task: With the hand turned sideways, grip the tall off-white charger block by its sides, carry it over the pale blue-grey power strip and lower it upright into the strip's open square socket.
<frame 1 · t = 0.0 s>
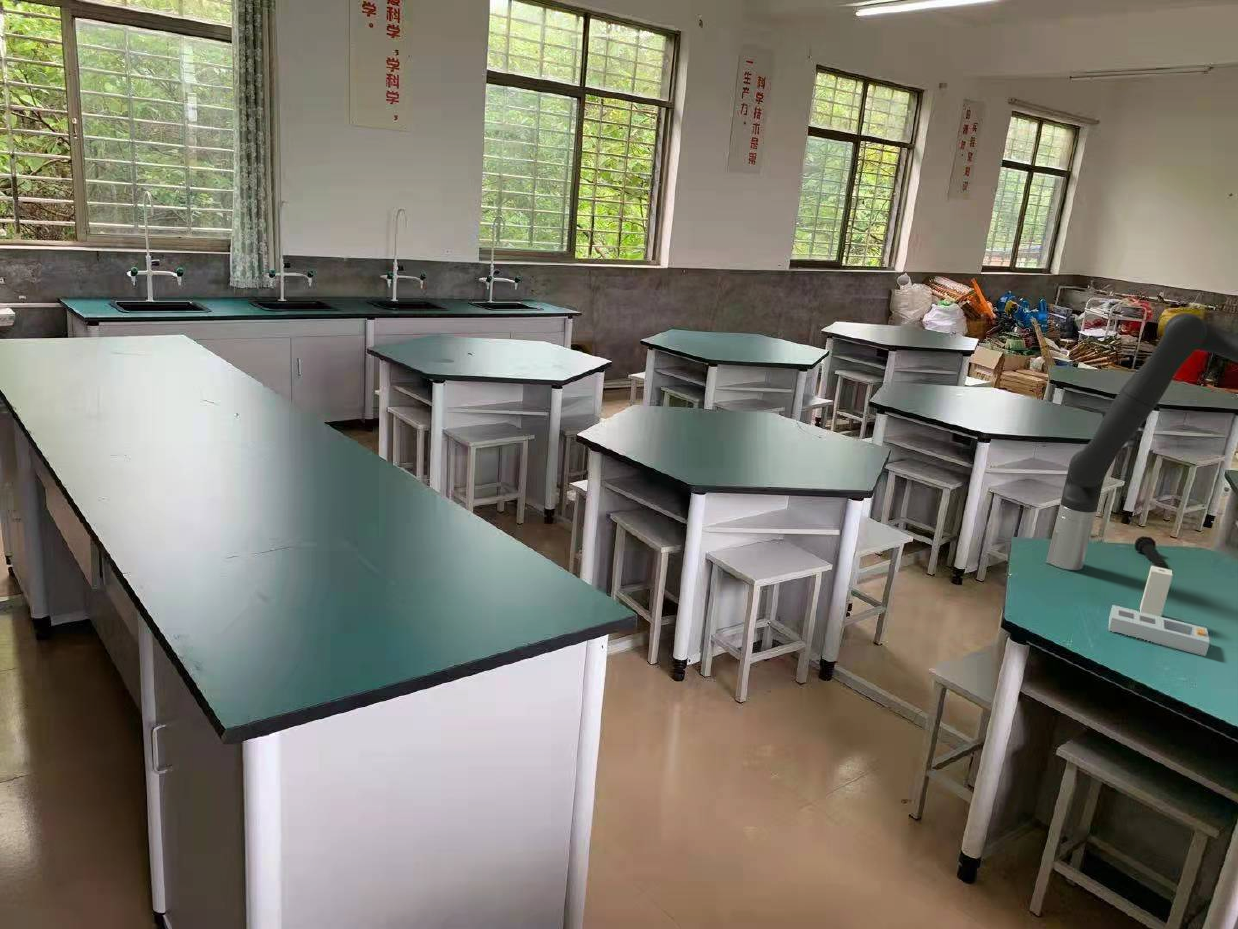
power strip: (1155, 636, 216), on the table
microphone: (1150, 562, 268), on the table
charger: (1149, 614, 229), on the table
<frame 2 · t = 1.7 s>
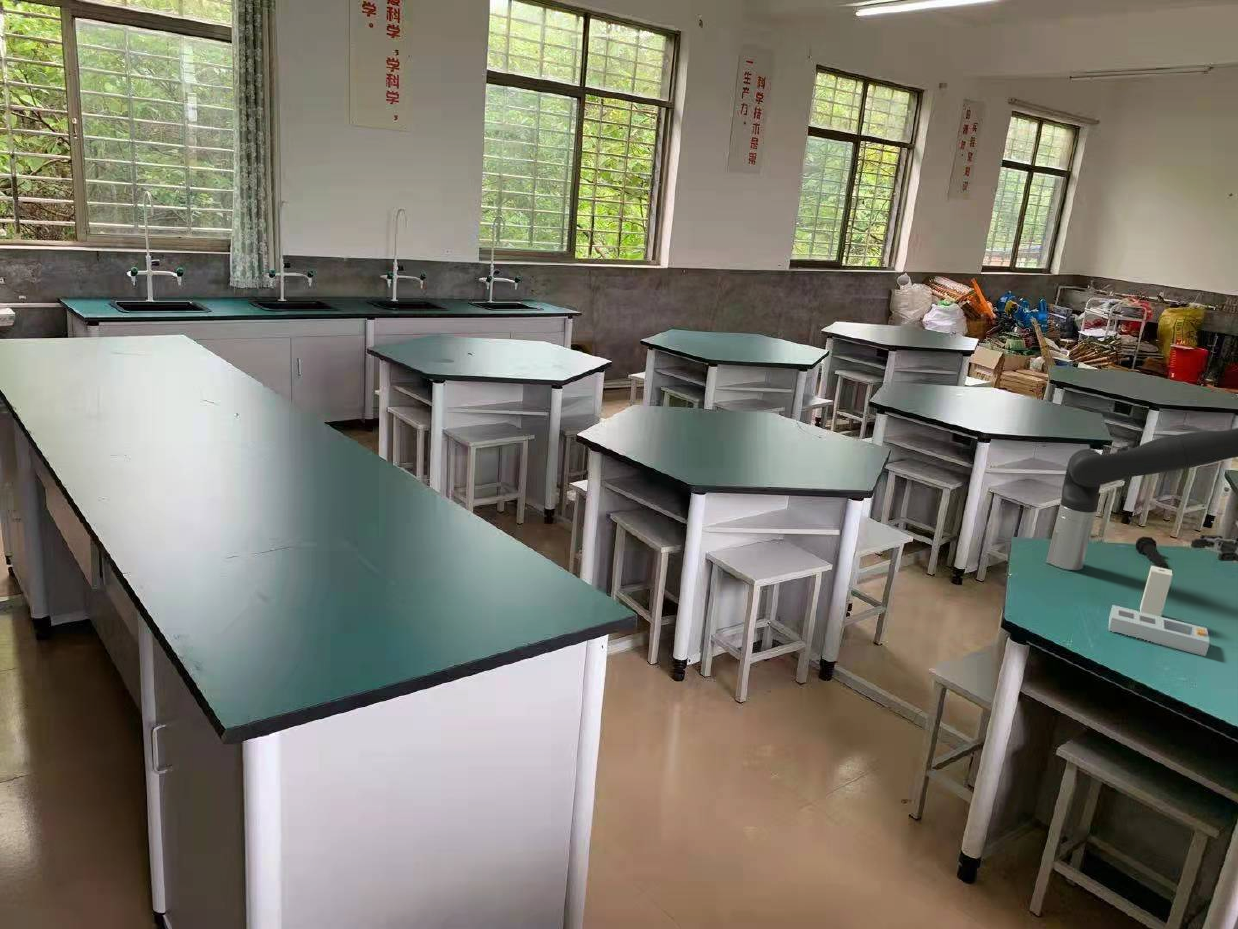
hand: (1206, 549, 226), 18 cm above the table, tool horizontal, fingers open, 8 cm apart
nothing on the table moved.
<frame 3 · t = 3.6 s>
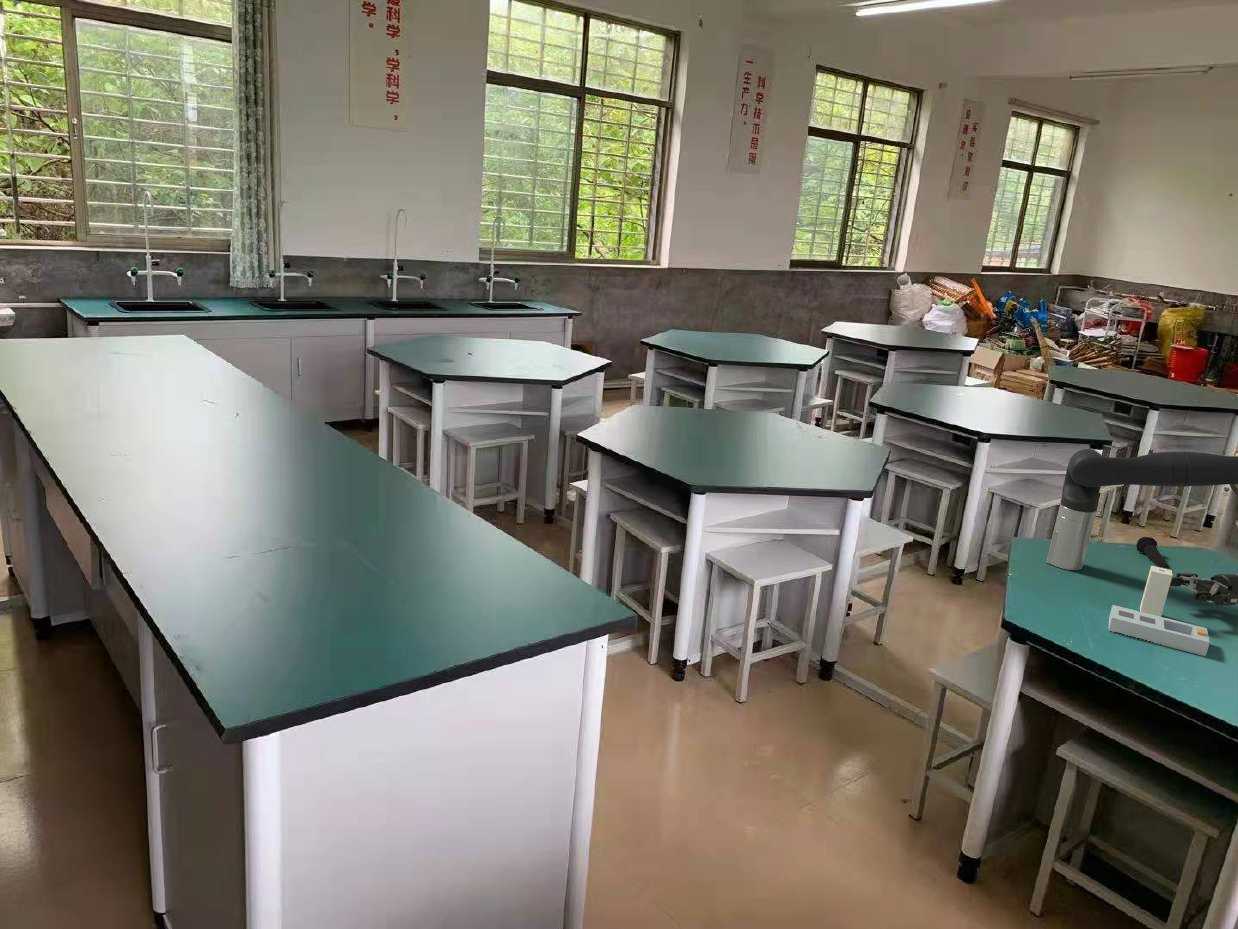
hand: (1181, 588, 228), 7 cm above the table, tool horizontal, fingers open, 8 cm apart
nothing on the table moved.
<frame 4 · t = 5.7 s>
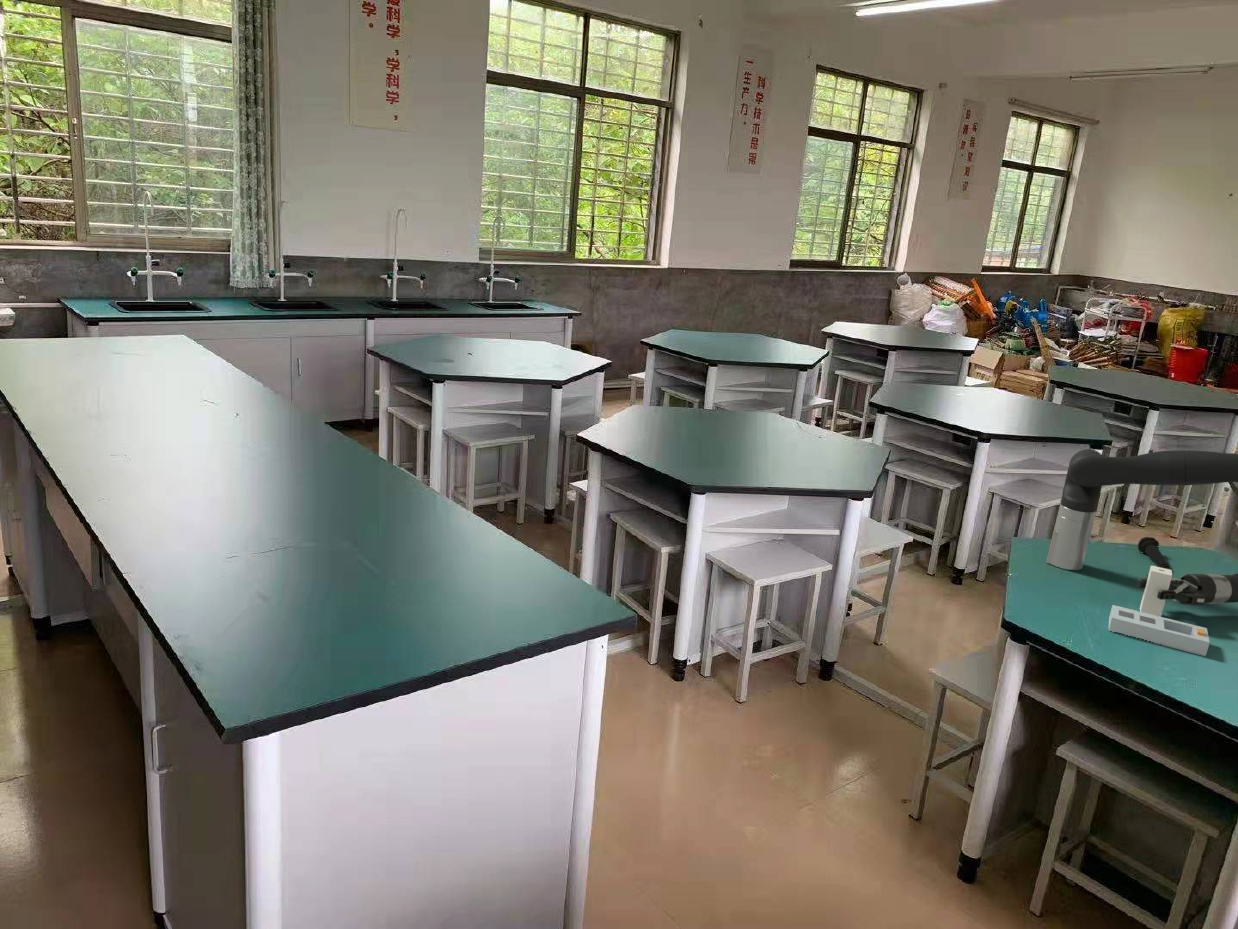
hand: (1148, 589, 226), 7 cm above the table, tool horizontal, fingers closed on charger, 6 cm apart
charger: (1149, 614, 229), on the table, touching gripper
everything else where it was.
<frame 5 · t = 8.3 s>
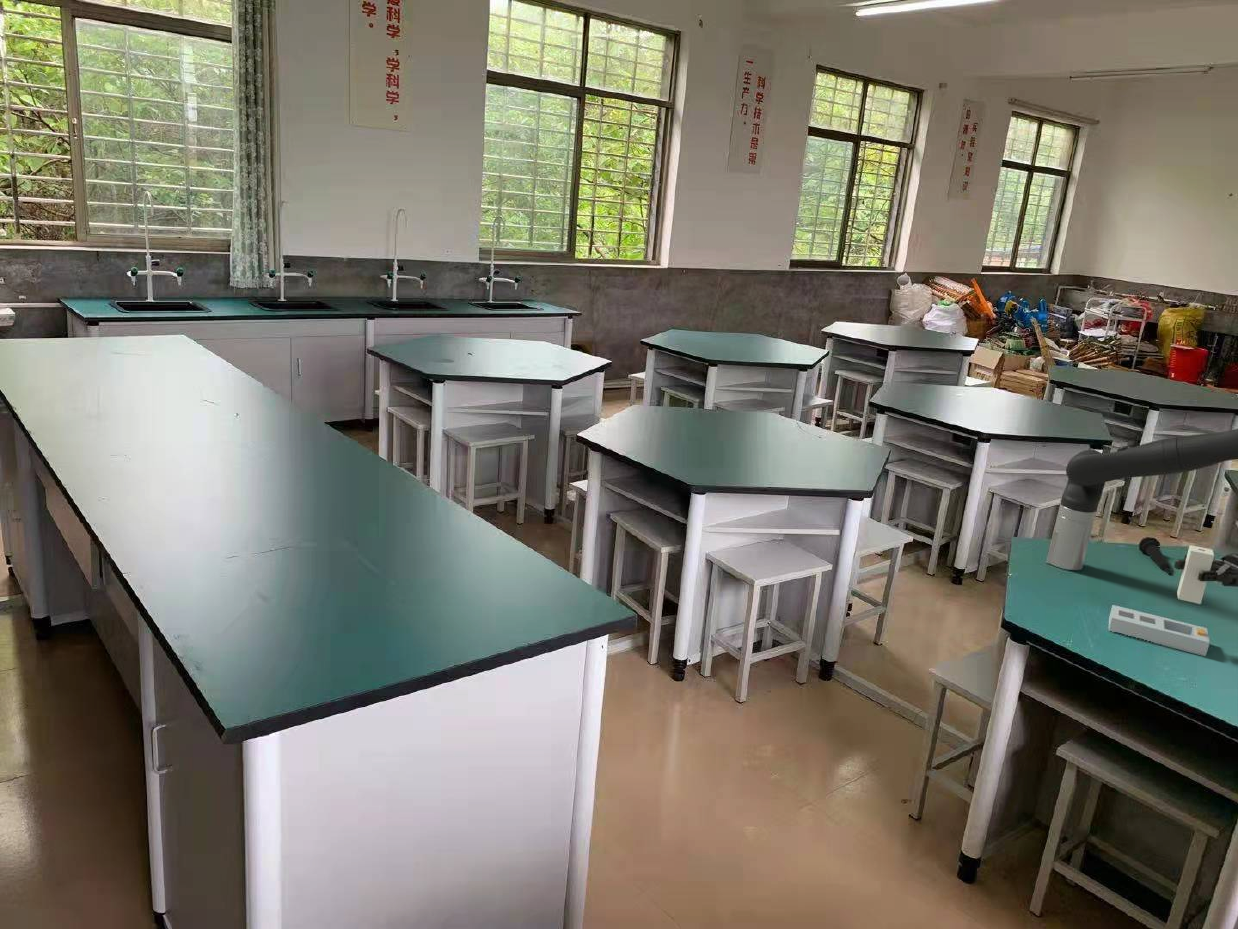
hand: (1187, 570, 209), 18 cm above the table, tool horizontal, fingers closed on charger, 6 cm apart
charger: (1188, 598, 212), point 11 cm above the table, touching gripper
everything else where it was.
when the fingers open (9 cm above the table, at t = 11.0 s): charger drops 2 cm, resting on power strip.
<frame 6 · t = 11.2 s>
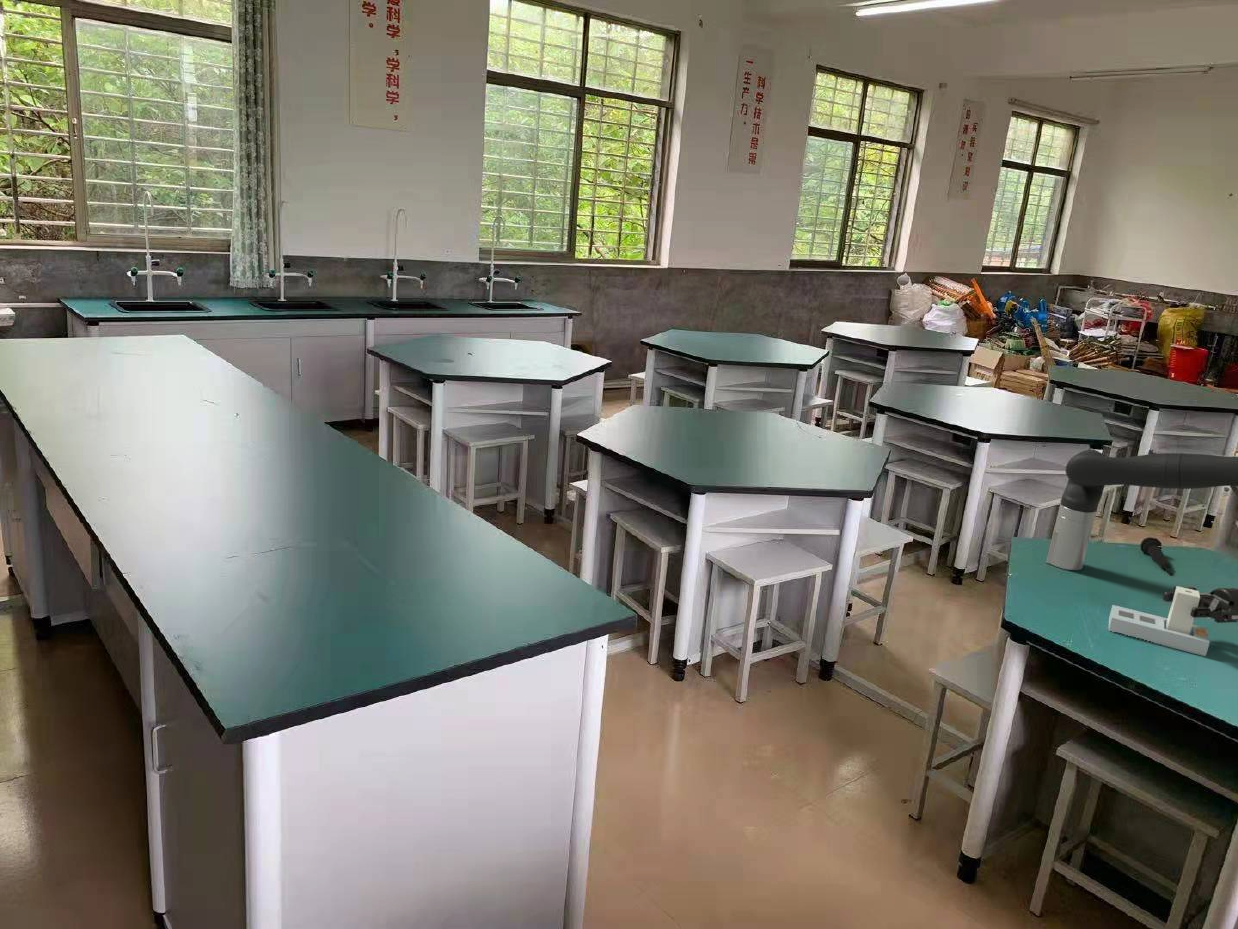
hand: (1178, 604, 212), 10 cm above the table, tool horizontal, fingers open, 8 cm apart
charger: (1174, 638, 215), point 1 cm above the table, touching power strip
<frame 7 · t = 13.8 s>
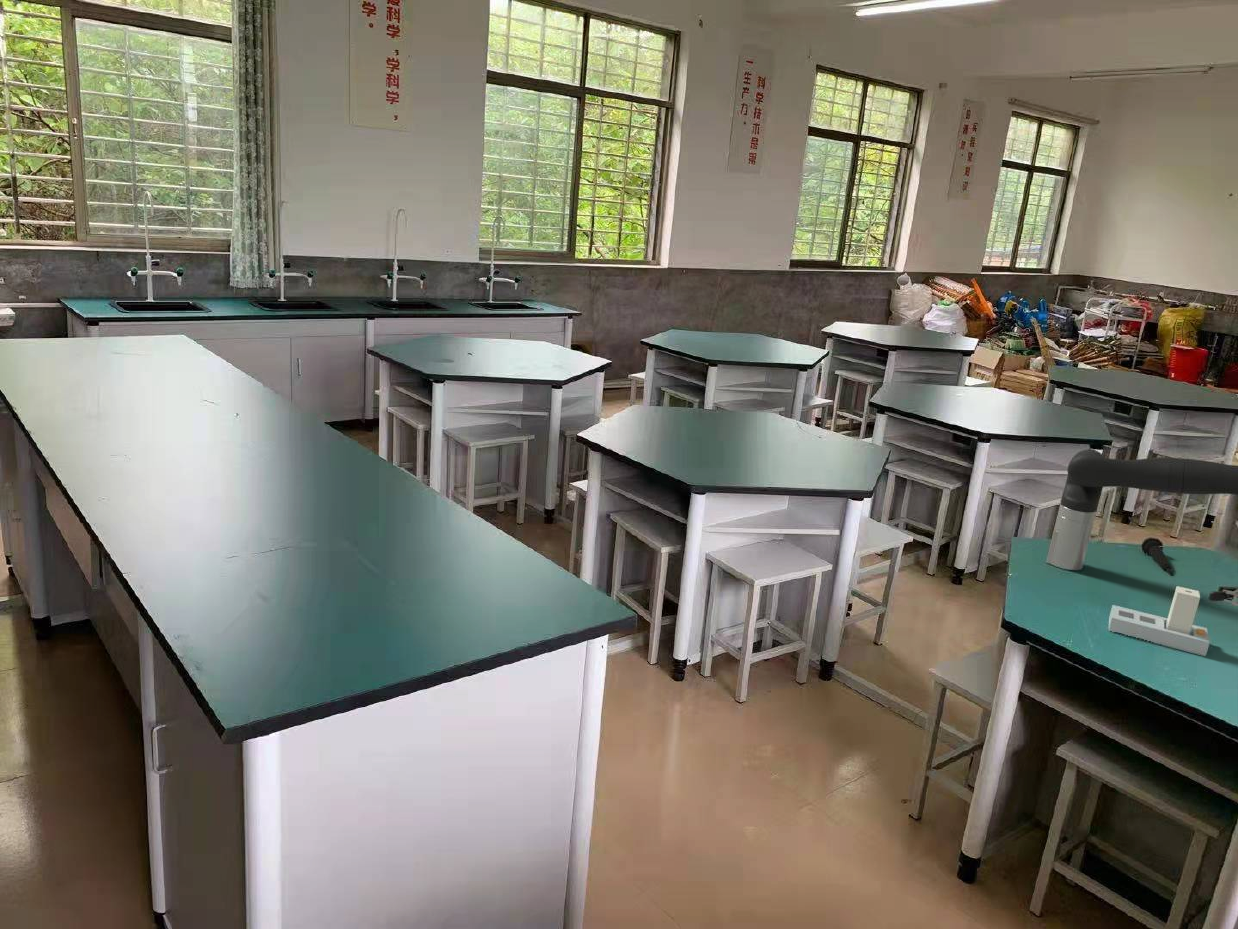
hand: (1225, 604, 214), 10 cm above the table, tool horizontal, fingers open, 8 cm apart
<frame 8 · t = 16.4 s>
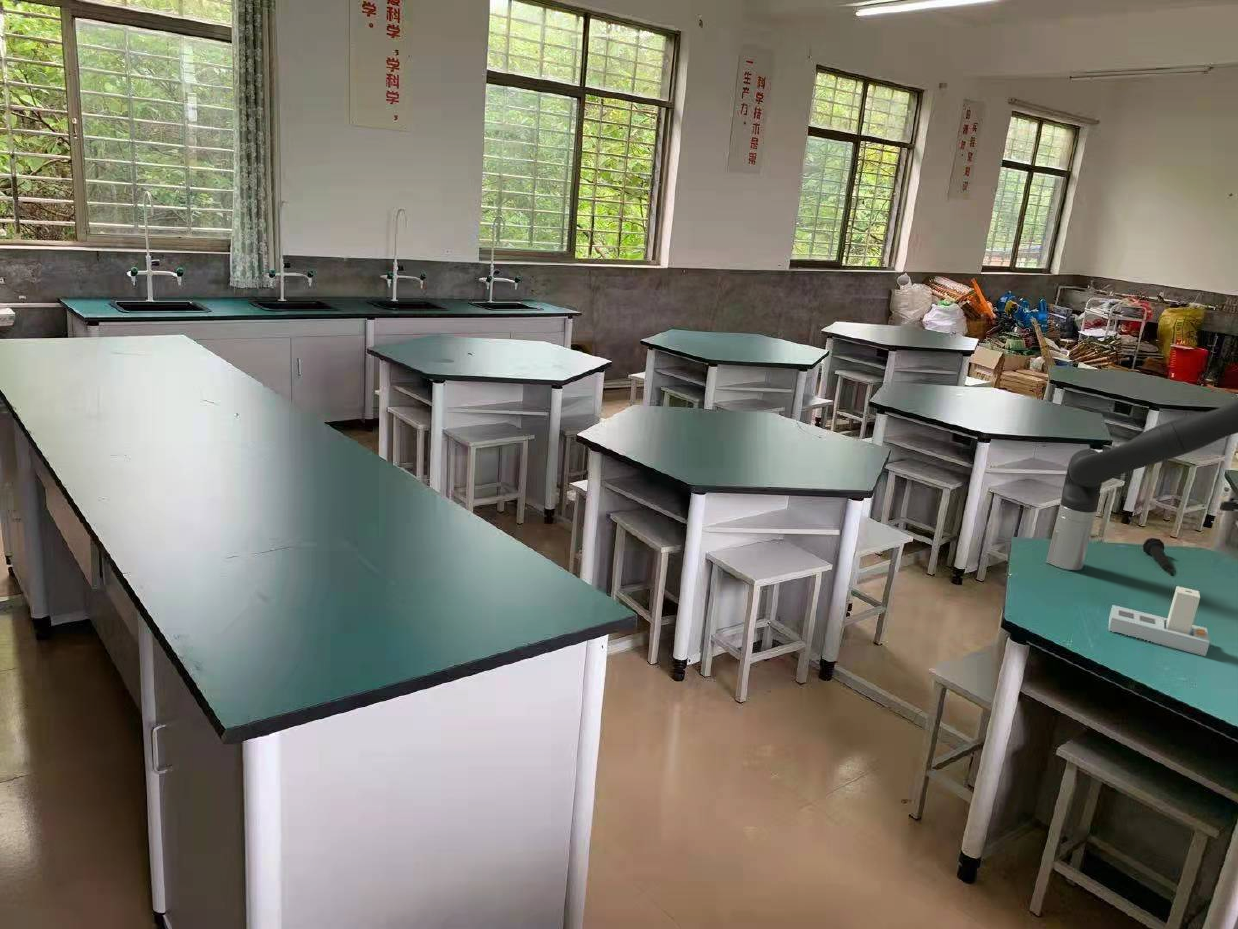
hand: (1236, 512, 216), 30 cm above the table, tool horizontal, fingers open, 8 cm apart
at the end: charger 0.3 cm from the target spot on the power strip, point 0.6 cm above the power strip's base; charger tilted 0°; the gripper is holding nothing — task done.
